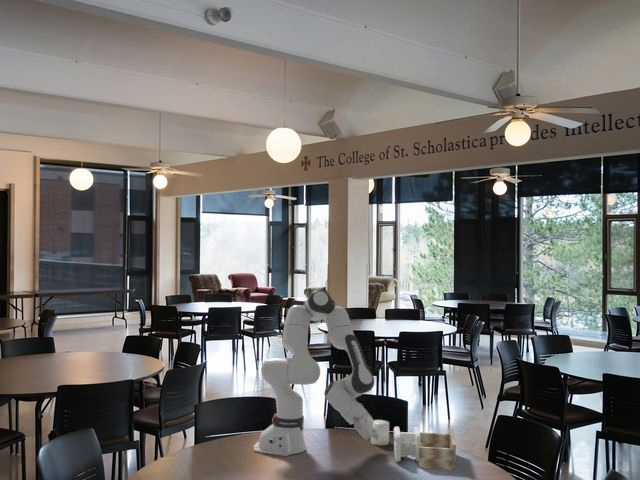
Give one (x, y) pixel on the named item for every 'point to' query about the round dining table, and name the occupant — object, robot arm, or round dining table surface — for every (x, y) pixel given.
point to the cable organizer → (406, 444)
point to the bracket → (437, 451)
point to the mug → (381, 432)
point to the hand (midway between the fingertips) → (377, 437)
